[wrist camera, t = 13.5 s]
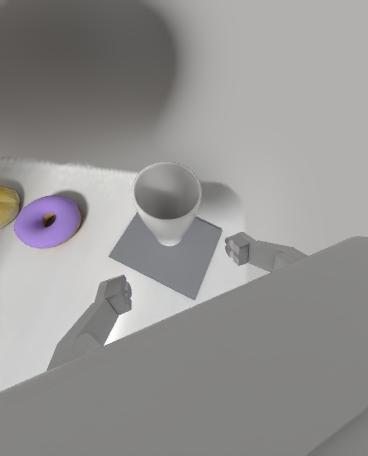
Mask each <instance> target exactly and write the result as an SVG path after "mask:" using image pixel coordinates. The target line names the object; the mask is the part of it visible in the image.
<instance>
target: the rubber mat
mask: <svg viewBox="0 0 368 456" xmlns="http://www.w3.org/2000/svg"><path fill="white" fill-rule="evenodd" d="M222 231H223V230H220V229H218V228H216V227H214V226H212V225H210V224H208V223H206V222H203V221H201V220H199V219H197V218H195V219H194V221H193V222H192V224H191V226H190V227H189V228H188V230H187V231H186V233H185V234H184V236H183V238H182V240H181V241H180V242H179V243H178V244H176V245H174V246H165V245H162V244H161V243H160V242H159V241H158V240H157V239H156V237H155V236H154V235H153V233H152V232H151V231H150V230H149V229H148V228H147V227H146V225H145V224H144V223H143V221H142V219H141V218H140V216H139V214H138V212H137V213H136V215H135V217H134V218H133V220H132V221H131V223H130V224H129V226H128V227H127V229H126V230H125V232H124V233H123V235H122V236H121V238H120V240H119V241H118V243H117V244H116V246H115V247H114V249H113V250H112V252H111V253H110V255H109V256H108V257H110V258H112V259H114V260H116V261H118V262H120V263H122V264H124V265H126V266H128V267H130V268H132V269H134V270H136V271H138V272H140V273H142V274H144V275H146V276H148V277H150V278H152V279H154V280H156V281H158V282H160V283H162V284H163V285H165V286H167V287H169V288H171V289H173V290H175V291H177V292H179V293H181V294H183V295H185V296H187V297H189V298H191V299H193V300H195V299H196V296H197V294H198V291H199V289H200V286H201V284H202V281H203V279H204V276H205V274H206V271H207V269H208V266H209V264H210V261H211V258H212V256H213V253H214V251H215V248H216V246H217V243H218V241H219V238H220V236H221V233H222Z"/></svg>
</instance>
